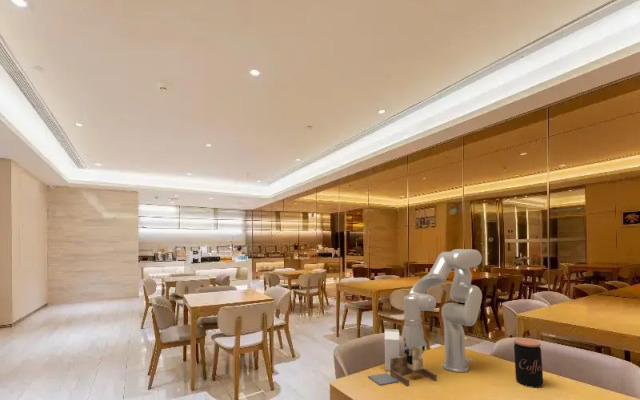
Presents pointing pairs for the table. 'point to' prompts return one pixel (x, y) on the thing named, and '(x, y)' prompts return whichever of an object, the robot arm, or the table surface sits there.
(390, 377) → the coaster
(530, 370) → the coffee jar
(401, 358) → the wooden arch bench
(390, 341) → the milk carton
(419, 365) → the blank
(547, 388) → the table surface
